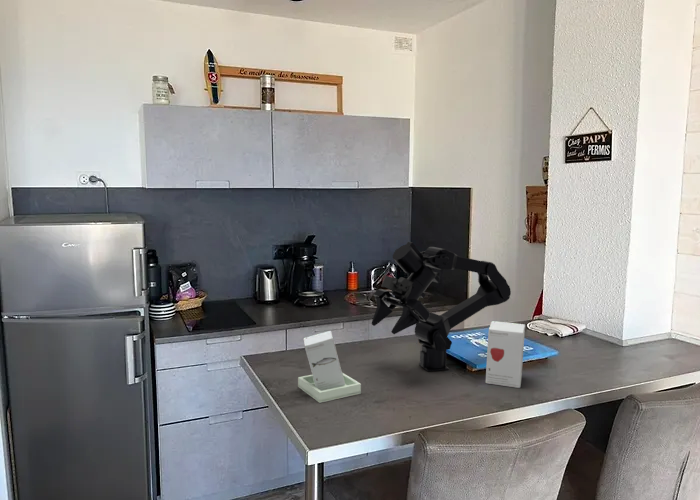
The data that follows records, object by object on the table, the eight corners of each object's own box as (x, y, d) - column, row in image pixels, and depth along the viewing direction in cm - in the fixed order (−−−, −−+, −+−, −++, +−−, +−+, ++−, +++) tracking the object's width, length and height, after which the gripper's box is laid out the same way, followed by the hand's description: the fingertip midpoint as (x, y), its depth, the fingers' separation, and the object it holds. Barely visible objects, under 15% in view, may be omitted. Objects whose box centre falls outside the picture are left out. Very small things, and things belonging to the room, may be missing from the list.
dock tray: (337, 378, 144) (337, 369, 143) (360, 393, 134) (361, 383, 133) (298, 386, 137) (298, 377, 137) (319, 402, 128) (319, 392, 127)
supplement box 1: (317, 394, 131) (303, 346, 129) (315, 383, 138) (302, 337, 137) (346, 385, 132) (333, 337, 130) (343, 375, 139) (330, 329, 137)
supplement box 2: (484, 383, 142) (487, 328, 140) (488, 372, 150) (490, 320, 148) (520, 388, 138) (524, 332, 137) (522, 377, 147) (525, 323, 145)
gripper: (380, 260, 151) (346, 303, 147) (422, 270, 135) (385, 318, 131) (401, 285, 156) (369, 327, 152) (445, 297, 141) (410, 345, 136)
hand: (382, 328), depth 143 cm, fingers open, 9 cm apart
